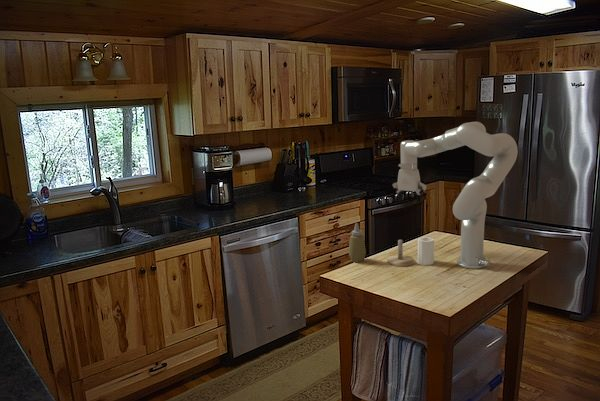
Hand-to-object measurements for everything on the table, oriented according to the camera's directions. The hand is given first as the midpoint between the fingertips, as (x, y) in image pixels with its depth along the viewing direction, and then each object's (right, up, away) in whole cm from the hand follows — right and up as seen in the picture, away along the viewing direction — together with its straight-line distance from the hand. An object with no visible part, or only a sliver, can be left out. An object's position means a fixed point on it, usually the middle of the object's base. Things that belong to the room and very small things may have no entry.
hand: (409, 201), depth 232 cm
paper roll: (+5, -28, -12) cm, 31 cm away
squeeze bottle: (-26, -28, -5) cm, 38 cm away
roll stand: (-7, -28, -10) cm, 30 cm away
